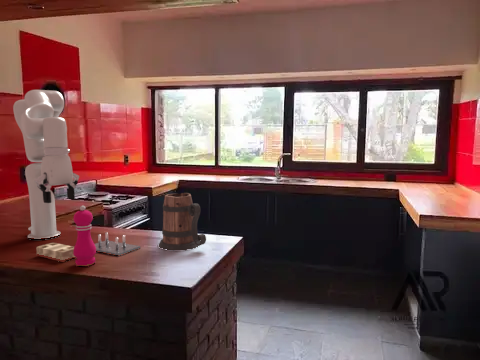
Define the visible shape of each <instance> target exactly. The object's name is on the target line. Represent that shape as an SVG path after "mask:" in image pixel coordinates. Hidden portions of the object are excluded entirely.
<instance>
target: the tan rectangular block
mask: <svg viewBox="0 0 480 360" xmlns="http://www.w3.org/2000/svg"><path fill="white" fill-rule="evenodd" d="M73 250H74V246H72V245H66V244H63V243H57V242H50V243H46V244H42V245H39V246H36V255H37V254H39V255H44V256H48V257H52V258H56V259H60V260H65V259H68V258H72V257H75V256H74V254H73Z"/></svg>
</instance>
